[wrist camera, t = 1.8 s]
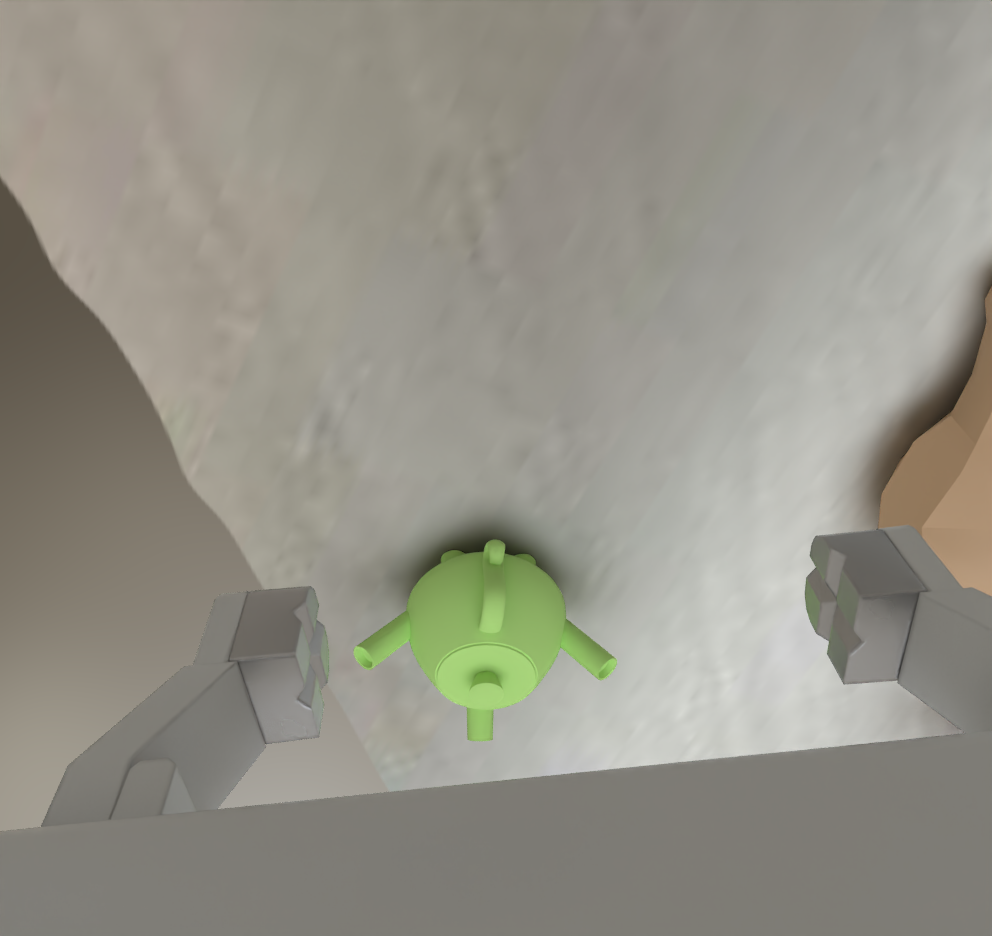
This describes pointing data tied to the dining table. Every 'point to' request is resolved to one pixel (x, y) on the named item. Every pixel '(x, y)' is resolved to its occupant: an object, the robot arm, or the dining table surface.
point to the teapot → (485, 632)
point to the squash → (952, 479)
